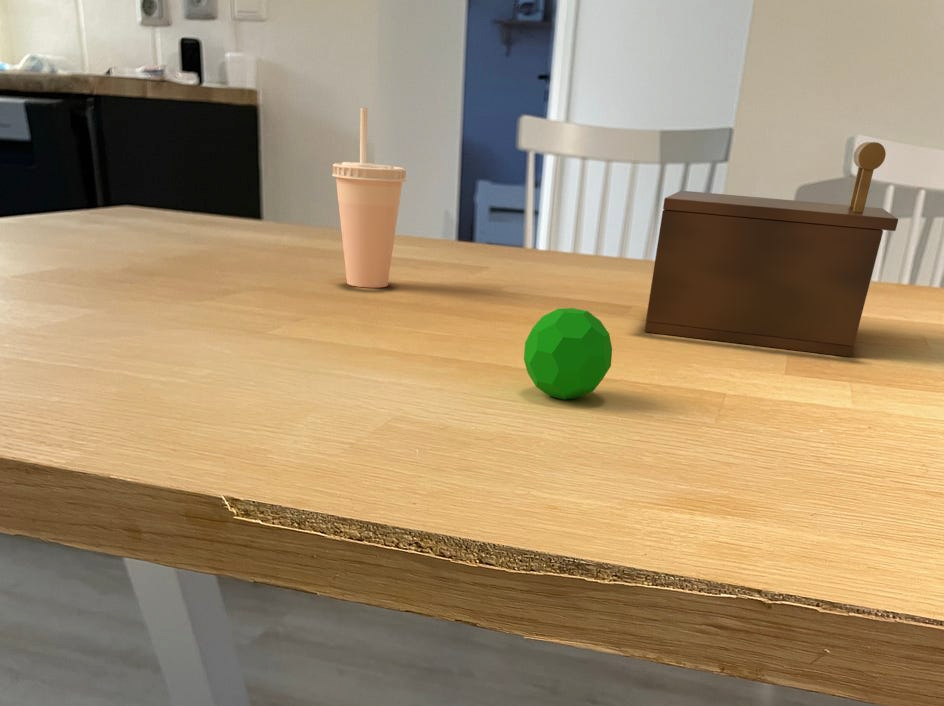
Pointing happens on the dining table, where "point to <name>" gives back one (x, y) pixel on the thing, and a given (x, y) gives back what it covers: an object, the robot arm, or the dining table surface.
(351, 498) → the dining table surface
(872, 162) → the lid
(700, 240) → the chest
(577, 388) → the polyhedron
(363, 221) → the smoothie
